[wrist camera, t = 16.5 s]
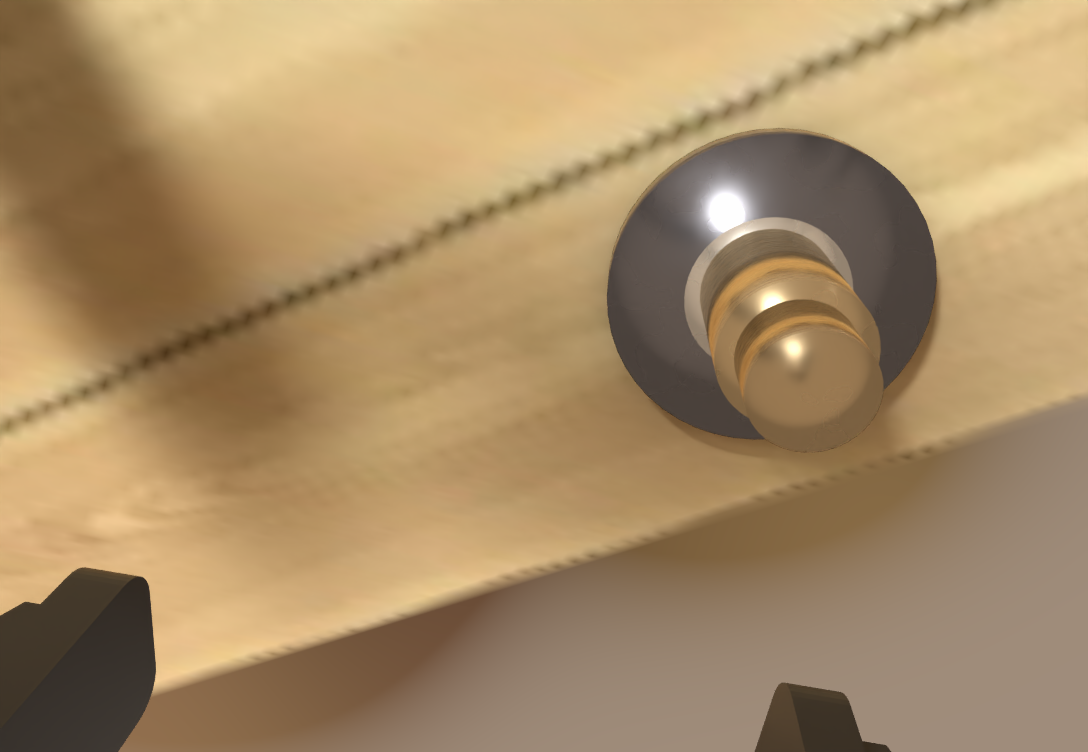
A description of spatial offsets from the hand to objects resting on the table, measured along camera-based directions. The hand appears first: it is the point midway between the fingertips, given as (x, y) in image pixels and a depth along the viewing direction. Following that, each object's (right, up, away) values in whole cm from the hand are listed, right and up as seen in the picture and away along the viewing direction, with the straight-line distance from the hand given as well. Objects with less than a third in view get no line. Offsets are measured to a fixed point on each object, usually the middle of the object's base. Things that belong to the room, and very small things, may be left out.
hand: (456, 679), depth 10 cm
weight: (+11, +7, +25) cm, 29 cm away
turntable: (+11, +8, +27) cm, 30 cm away
